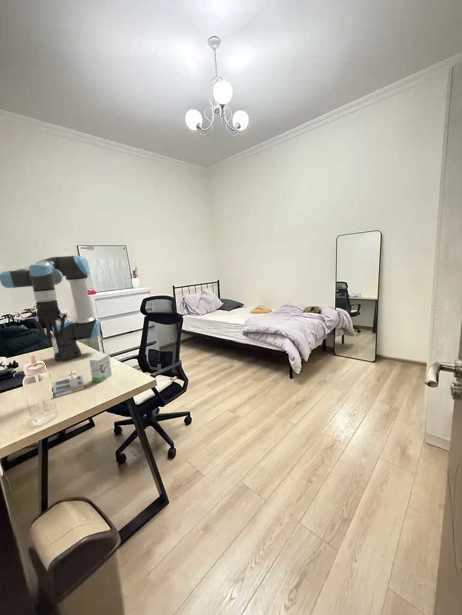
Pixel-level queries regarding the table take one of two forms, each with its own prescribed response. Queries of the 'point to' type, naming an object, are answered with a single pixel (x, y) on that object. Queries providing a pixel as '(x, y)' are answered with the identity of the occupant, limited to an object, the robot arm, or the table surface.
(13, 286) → the robot arm
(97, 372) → the ink box
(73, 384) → the tab
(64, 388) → the switch bank
